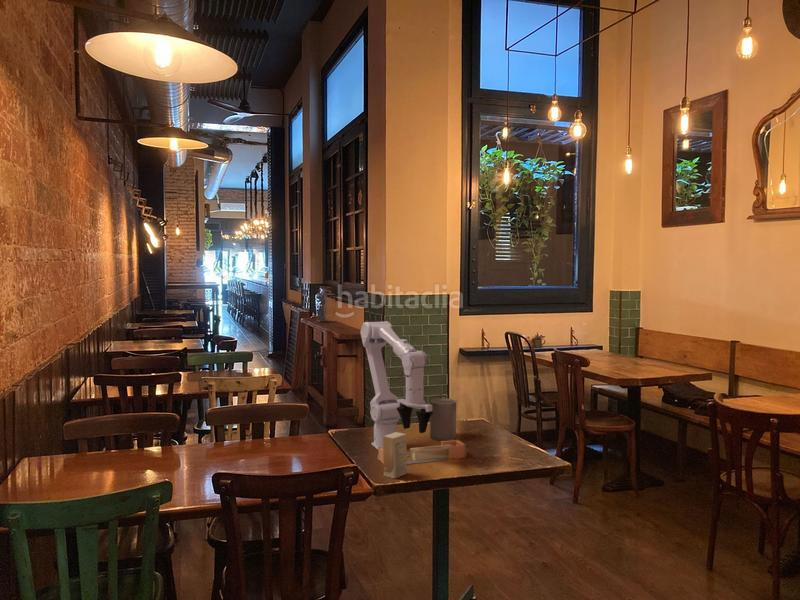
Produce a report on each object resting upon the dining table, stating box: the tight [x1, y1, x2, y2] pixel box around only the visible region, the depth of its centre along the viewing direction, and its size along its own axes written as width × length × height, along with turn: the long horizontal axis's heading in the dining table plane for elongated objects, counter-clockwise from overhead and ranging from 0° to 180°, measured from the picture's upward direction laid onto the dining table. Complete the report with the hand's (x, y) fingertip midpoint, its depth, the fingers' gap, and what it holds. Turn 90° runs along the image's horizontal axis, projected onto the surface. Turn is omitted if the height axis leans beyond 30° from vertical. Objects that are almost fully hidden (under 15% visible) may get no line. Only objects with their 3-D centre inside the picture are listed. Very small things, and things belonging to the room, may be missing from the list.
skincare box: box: [383, 431, 408, 480], centre depth 185 cm, size 6×4×12 cm
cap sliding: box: [377, 447, 384, 465], centre depth 200 cm, size 7×6×4 cm
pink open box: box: [440, 439, 467, 460], centre depth 207 cm, size 7×6×4 cm
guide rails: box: [376, 452, 449, 465], centre depth 202 cm, size 9×21×1 cm, turn 109°
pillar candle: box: [429, 396, 457, 441], centre depth 230 cm, size 10×10×15 cm
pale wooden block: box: [409, 444, 452, 461], centre depth 204 cm, size 4×14×4 cm, turn 109°
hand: (414, 430), depth 202 cm, fingers open, 7 cm apart
